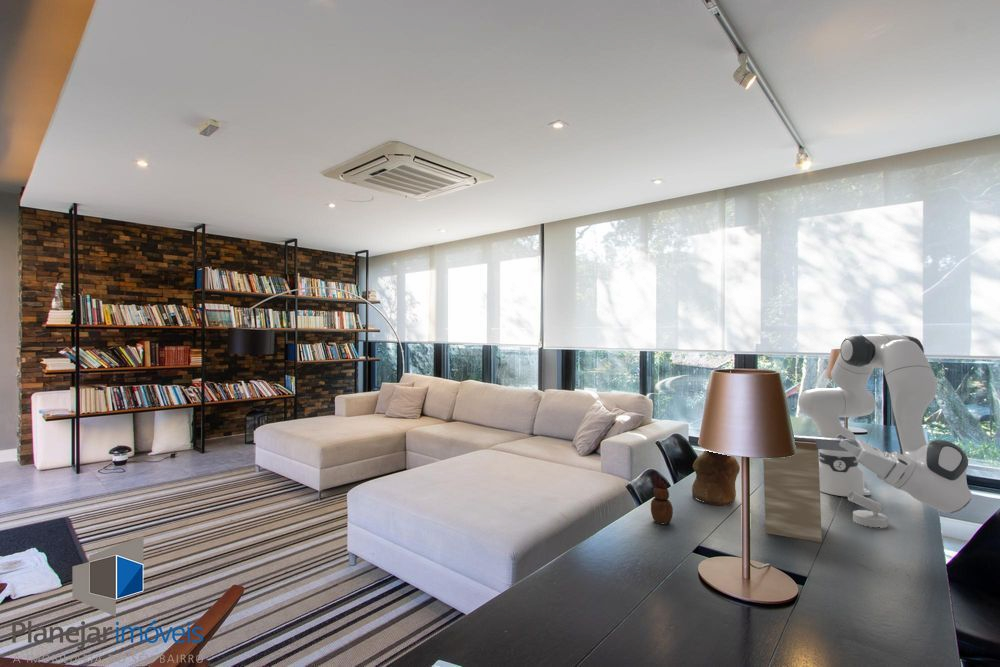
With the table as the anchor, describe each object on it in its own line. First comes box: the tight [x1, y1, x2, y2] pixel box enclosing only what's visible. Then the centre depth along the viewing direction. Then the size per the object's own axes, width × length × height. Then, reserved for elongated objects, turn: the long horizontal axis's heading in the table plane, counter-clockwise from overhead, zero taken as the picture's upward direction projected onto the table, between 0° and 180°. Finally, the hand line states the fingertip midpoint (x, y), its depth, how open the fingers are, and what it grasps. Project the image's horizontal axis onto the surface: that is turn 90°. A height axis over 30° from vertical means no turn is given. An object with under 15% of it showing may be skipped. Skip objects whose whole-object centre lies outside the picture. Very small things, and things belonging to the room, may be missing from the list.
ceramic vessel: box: [691, 450, 741, 506], centre depth 171 cm, size 16×22×30 cm
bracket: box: [793, 434, 857, 452], centre depth 140 cm, size 3×20×8 cm, turn 58°
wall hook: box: [847, 492, 889, 529], centre depth 149 cm, size 9×10×10 cm
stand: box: [762, 441, 823, 543], centre depth 146 cm, size 14×14×28 cm
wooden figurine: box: [650, 474, 674, 525], centre depth 153 cm, size 7×6×15 cm
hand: (838, 439), depth 137 cm, fingers open, 8 cm apart
